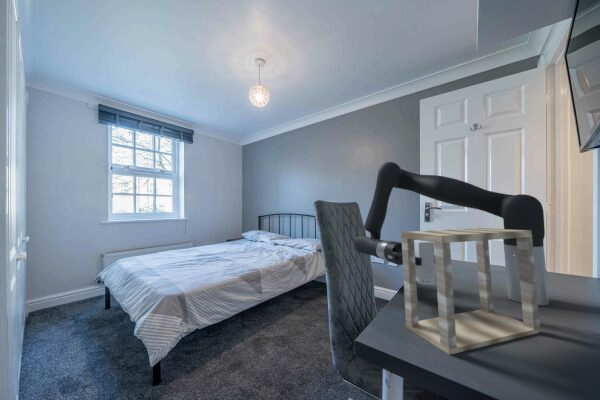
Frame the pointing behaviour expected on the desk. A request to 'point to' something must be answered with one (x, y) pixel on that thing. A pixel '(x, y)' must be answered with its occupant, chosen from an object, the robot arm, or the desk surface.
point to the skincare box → (425, 262)
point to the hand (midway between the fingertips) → (430, 261)
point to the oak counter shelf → (477, 319)
